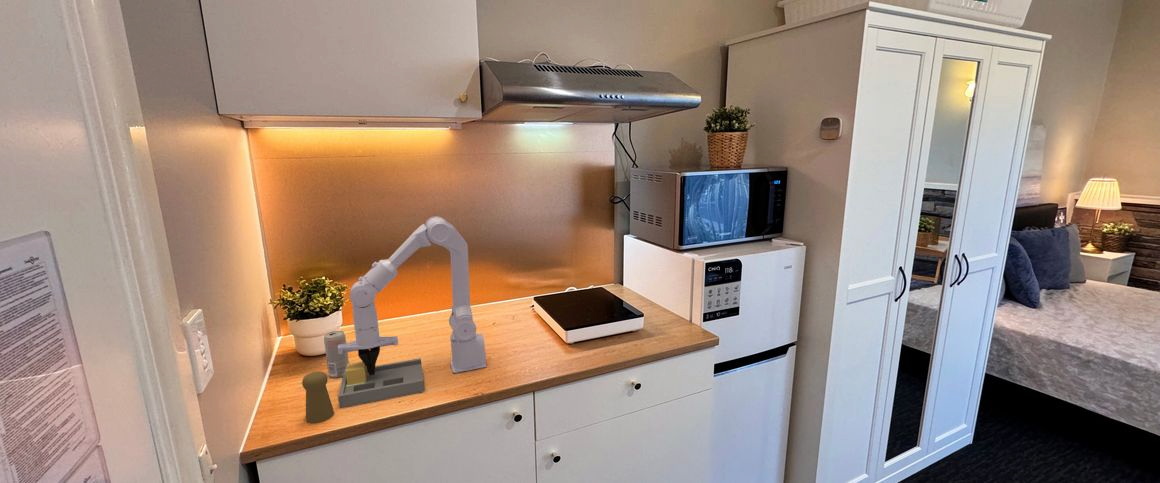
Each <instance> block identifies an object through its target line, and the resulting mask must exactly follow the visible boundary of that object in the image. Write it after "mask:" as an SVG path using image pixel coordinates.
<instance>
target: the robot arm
mask: <svg viewBox="0 0 1160 483" xmlns="http://www.w3.org/2000/svg"><path fill="white" fill-rule="evenodd" d="M431 243H433V244H435V245H438V246H441V247H444V248H445V249H446V250H447V251H449V253H450V254H449V255H450V274H451V276H450V277H451V293H452V298H451V299H452V304H451V313H450V316H449V319H448V322H449V326H450V327H451V329H452V332H451V334H450V348H451V349H450V350H451V359H450V360H449V362H450V367H451V372H452V374H456V373H462V372H467V371H472V370H473V371H474V370H479V369H483V368H487V362H486V361H487V360H486V359H487V358H486V356H487V355H486V344H485V339H484V335H483V333H477V325H476V323H475V322H474V319H473V312H472V307H471V298H470V297H471V294H470V268H469V265H470V264H469V263H470V262H469V245H468V242H466V240H465V239H464V238H463V236H462V235H461V234H460V233H459V231H458V229H456V228H455V227H454V226H453V224H452V223H450V222H449V221H447V220H446V219H445V218H443V217H441V216H431V217H430V218H428V219H427V220H426V221H425V223H422V224H421V225H420V226H419V227H418V228H416V229H415V230H414V231H413V232H412V234H411V235H410V236H409V237H407V239H406V240H405V241H404V242H403V243H402V244H401V245H400V246H399V247H398V248H397V249H396V250H395V251H394V252H393V253H392V255H391V256H390V257H389V258H388V259H387V258H386V259H380V260H378V262H377V261H374V262H373V263H372V264H371V268H370V270H368V271H367V272H366V273H365V274H364V276H360V277H359V278H358V281H356V282H354V284H352V286H351V288H350V291H349V292H350V293H349V299H350V302H351V304H352V305H351V306H352V307H351V308H352V318H353V326H354V328H353V329H354V333H355V334H354V336H355V340H354V341H351V342H346V344H341V345H338V354H343V353H345V352H348V353H350V352H357V356H358V358H359V359H360V360H361V361H363V363H364V364H365V366H366V368H367V370H368V372H369V375H374V374H375V366H377V360H378V357H379V355H380V351H381V348H384V347H390V346H395V347H396V346H398V345H399V338H398V335H395V336H380V330H379V320H378V314H377V313H378V311H377V307H376V306H375V303H376V302H375V300H376V294H379V293H380V292H382V290H383V289H384V288H386V286H387V285H388V284H389V283H390V282H392V281H393V279H394V278H396V276H398V268H399V267H400V266H401V265H402V264H403V263H404V262H405V261H406V260H408V259H409V258H410V257H411V256H412V255H413V254H414V253H415V252H416V251H418V250H419V249H420V248H425V247H431V246H432V244H431Z"/></svg>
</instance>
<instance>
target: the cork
mask: <svg viewBox="0 0 1160 483" xmlns="http://www.w3.org/2000/svg"><path fill="white" fill-rule="evenodd" d="M327 383H328V375H327V373H325V372H324V371H321V370H320V371H312V372H309V373H307V374H305V376H303V378H302V381H301V384H302V387H303V389H304V390H305V422H306V423H308V424H312V425H313V424H320V423H323V422H326V421H328V420H330V419H331V418H332V417H333V416H334V415H335V410H334V407H333V404H332V401H331V397H330V394H329V391H328V388H327Z"/></svg>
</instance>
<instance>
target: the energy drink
mask: <svg viewBox="0 0 1160 483" xmlns="http://www.w3.org/2000/svg"><path fill="white" fill-rule="evenodd" d="M323 343H324V349H325V351H324V352H325V357H326V364H327V365H326V366H327V370H328V371H327V372H328V377H331V378H333V379H339V378H342V377H343V373H344V371H346V367H347V364H349V363H350V361H349V354H348V353H349V352H345V353H343V354H338V345H341V344H346V343H347V339H346V334H345V332H344V331H343V330H333V331H330V332H327V333H325V334H324V338H323Z"/></svg>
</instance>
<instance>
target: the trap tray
mask: <svg viewBox="0 0 1160 483" xmlns="http://www.w3.org/2000/svg"><path fill="white" fill-rule="evenodd" d="M422 365H423V364H422V357H421V358H420V357H419V358H413V359H408V360H403V361H397V362H392V363H385V364H380V365H375V374H374V375H369V372H368V370H367V368H366V370H367V379H366V382H363V383H357V384H352V385H347V379H346V372H345V371H344V373H343V377H341V381H340V382H341V383H340V387H339V391H338V394H337V397H338V407H339V409H342V408H347V407H352V406H357V405H363V404H367V403H373V402H378V401H379V402H380V401H383V400H389V399H393V398H400V397H404V396H410V395H414V394H421V393H425V382H424V375H423V374H424V373H423V366H422Z"/></svg>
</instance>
